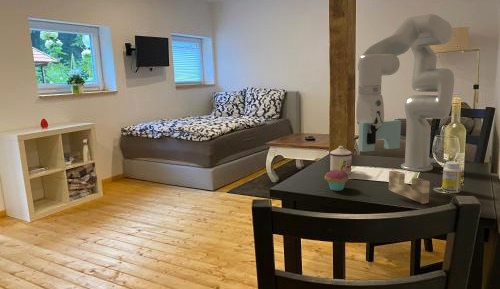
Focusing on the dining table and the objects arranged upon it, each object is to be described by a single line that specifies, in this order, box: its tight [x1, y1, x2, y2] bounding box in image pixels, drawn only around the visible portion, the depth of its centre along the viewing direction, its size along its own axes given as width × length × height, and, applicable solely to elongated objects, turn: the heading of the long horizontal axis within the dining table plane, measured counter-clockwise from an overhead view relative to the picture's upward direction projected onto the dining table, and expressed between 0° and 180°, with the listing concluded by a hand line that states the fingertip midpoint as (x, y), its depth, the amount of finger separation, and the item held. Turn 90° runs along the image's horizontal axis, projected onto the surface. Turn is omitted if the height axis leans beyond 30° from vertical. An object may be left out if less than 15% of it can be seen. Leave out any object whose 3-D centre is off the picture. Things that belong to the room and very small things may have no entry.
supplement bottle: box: [441, 160, 462, 194], centre depth 128 cm, size 6×6×10 cm
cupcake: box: [324, 157, 349, 191], centre depth 135 cm, size 9×8×12 cm
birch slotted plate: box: [388, 169, 431, 205], centre depth 125 cm, size 16×2×7 cm, turn 19°
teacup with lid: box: [329, 145, 353, 176], centre depth 157 cm, size 12×9×12 cm
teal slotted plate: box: [357, 119, 402, 153], centre depth 132 cm, size 16×2×10 cm, turn 109°
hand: (368, 142), depth 131 cm, fingers closed on teal slotted plate, 2 cm apart
